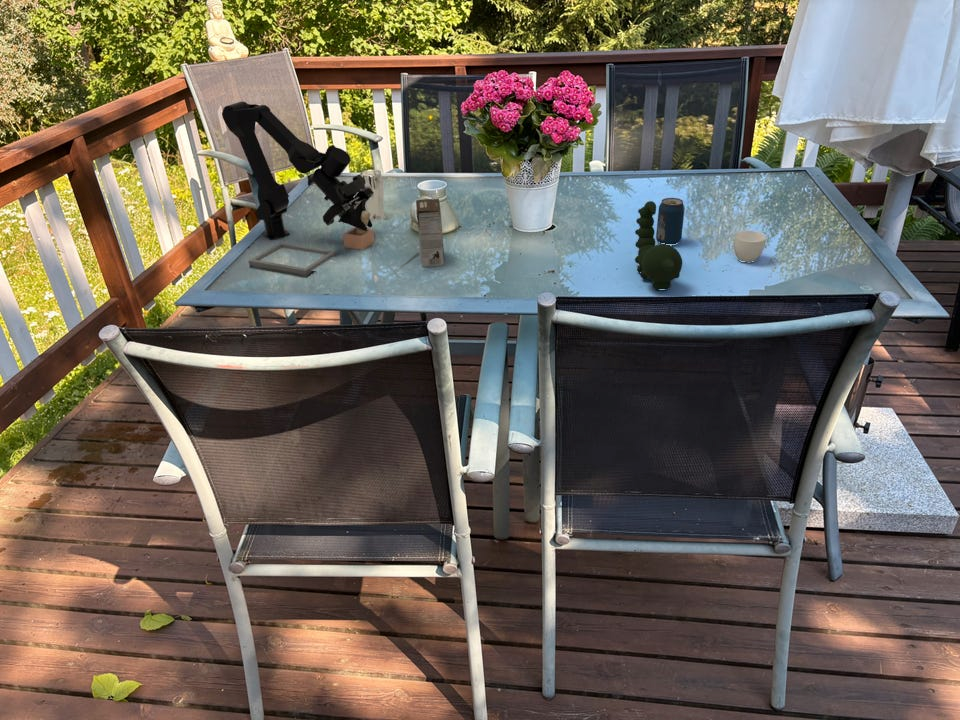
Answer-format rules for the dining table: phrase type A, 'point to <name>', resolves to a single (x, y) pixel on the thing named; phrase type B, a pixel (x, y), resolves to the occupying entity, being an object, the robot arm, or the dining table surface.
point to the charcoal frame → (287, 269)
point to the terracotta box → (358, 239)
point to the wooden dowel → (364, 219)
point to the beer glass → (376, 200)
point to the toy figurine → (655, 252)
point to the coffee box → (430, 232)
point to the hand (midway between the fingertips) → (368, 228)
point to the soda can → (670, 221)
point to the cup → (749, 245)
